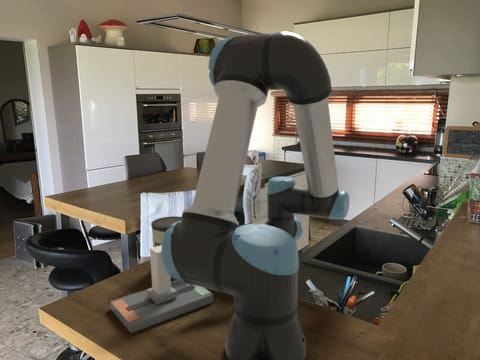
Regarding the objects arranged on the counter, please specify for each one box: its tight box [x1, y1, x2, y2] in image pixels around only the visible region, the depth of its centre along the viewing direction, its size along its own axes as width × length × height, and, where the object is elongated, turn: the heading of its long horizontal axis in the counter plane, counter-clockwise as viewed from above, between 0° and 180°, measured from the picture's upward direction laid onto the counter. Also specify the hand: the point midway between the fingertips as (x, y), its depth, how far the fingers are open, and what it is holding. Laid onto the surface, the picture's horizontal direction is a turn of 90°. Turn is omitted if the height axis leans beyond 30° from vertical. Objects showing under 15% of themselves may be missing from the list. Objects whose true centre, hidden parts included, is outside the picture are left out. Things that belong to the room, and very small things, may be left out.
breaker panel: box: [109, 279, 214, 334], centre depth 90 cm, size 12×20×2 cm, turn 127°
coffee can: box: [150, 215, 182, 279], centre depth 108 cm, size 10×10×14 cm
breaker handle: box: [146, 245, 177, 304], centre depth 88 cm, size 5×5×12 cm
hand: (183, 260), depth 92 cm, fingers open, 13 cm apart
